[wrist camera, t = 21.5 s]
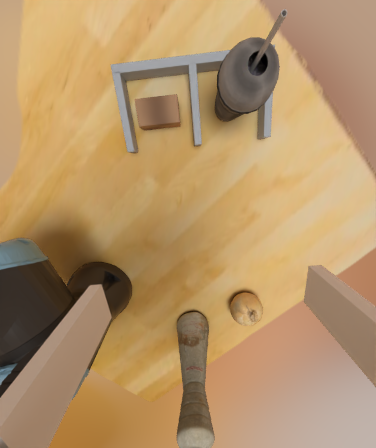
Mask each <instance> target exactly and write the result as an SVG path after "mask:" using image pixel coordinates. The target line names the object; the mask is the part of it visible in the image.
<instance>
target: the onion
mask: <svg viewBox="0 0 376 448" xmlns="http://www.w3.org/2000/svg"><path fill="white" fill-rule="evenodd" d="M230 312H231V315H232V317H233V319H234V320H235V321H236V322H238V323H239V324H241V325H254V324H256V323H257V322H259V321H260V319H261V317H262V314H263V307H262V304H261V302H260V300H259V299H258V298H257V297H256V296H255V295H253V294H251V293H240V294H238V295H236V296H235V297H234V298H233V300H232V303H231V307H230Z"/></svg>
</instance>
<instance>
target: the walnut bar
mask: <svg viewBox="0 0 376 448" xmlns="http://www.w3.org/2000/svg"><path fill="white" fill-rule="evenodd" d="M135 105H136V111H137V116H138V122H139V127H141V128H142V129H143V130H152V129H161V128H170V127H179V126H180V117H179V107H178V99H177V94H176V95H167V96H158V97H150V98H141V99H135Z"/></svg>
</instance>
